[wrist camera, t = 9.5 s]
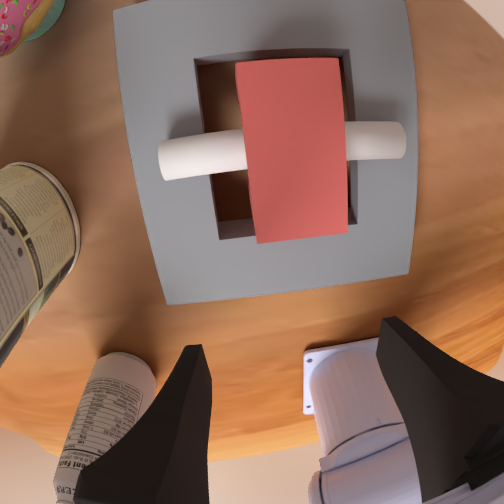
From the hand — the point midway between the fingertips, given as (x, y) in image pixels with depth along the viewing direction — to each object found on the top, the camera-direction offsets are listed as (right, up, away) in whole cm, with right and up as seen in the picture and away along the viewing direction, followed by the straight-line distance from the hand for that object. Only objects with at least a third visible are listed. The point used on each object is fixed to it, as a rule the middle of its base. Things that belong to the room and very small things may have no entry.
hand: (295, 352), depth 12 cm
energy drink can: (-13, -7, +14) cm, 21 cm away
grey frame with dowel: (0, +11, +6) cm, 12 cm away
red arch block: (0, +10, +5) cm, 12 cm away
